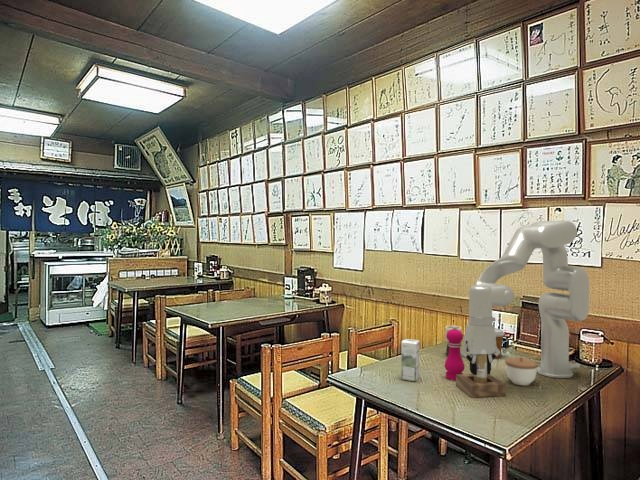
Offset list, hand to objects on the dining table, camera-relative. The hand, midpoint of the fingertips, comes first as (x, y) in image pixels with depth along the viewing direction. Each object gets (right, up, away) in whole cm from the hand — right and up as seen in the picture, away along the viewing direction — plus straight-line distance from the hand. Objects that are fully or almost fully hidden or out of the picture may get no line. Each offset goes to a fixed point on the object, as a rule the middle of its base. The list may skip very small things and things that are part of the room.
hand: (480, 372), depth 153 cm
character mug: (+4, -6, +43) cm, 43 cm away
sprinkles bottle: (0, -5, 0) cm, 5 cm away
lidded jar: (+18, -6, +8) cm, 21 cm away
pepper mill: (-5, -6, +14) cm, 16 cm away
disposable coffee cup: (+21, -6, +42) cm, 47 cm away
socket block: (0, -6, 0) cm, 6 cm away
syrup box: (-22, -6, +12) cm, 26 cm away
